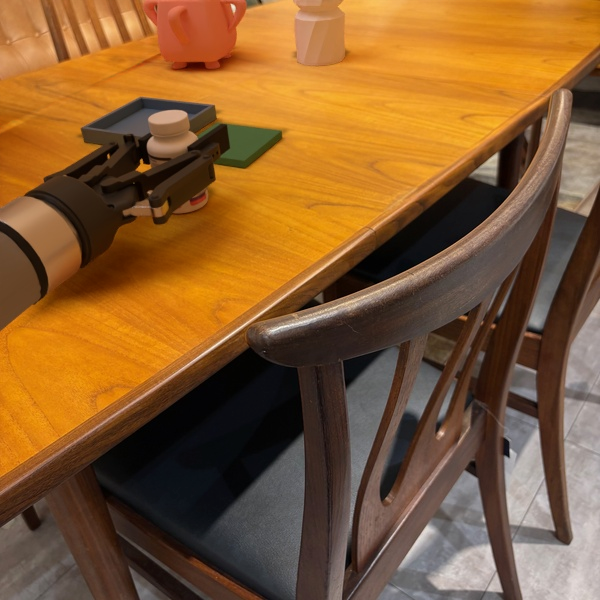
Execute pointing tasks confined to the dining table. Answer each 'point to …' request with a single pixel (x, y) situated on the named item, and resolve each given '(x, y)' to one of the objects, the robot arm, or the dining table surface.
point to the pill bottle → (173, 147)
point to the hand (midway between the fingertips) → (201, 133)
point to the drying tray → (143, 119)
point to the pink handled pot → (195, 29)
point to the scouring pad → (245, 144)
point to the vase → (319, 32)
